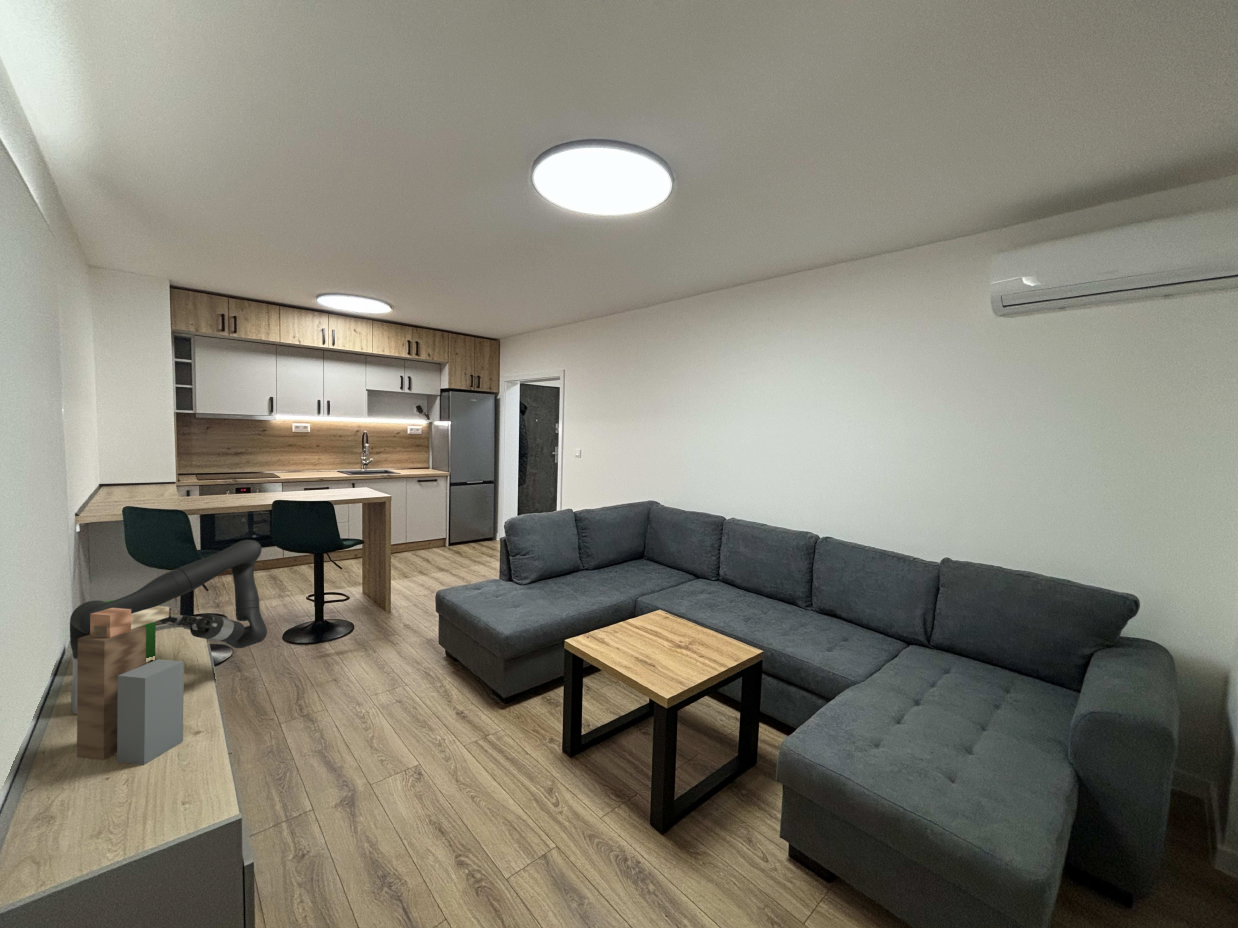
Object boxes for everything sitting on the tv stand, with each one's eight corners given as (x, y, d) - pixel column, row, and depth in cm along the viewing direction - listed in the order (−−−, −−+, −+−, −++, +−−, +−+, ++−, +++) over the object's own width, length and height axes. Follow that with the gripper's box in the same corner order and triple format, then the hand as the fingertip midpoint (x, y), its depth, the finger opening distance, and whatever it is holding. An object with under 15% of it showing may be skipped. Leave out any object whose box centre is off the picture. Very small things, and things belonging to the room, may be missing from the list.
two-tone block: (154, 615, 143) (154, 595, 143) (171, 616, 143) (172, 597, 142) (90, 635, 127) (90, 613, 127) (110, 637, 127) (110, 615, 126)
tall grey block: (157, 738, 135) (158, 659, 134) (182, 741, 134) (183, 661, 134) (117, 761, 125) (117, 675, 124) (144, 764, 124) (145, 678, 124)
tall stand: (119, 734, 136) (120, 624, 135) (144, 737, 135) (146, 626, 135) (76, 757, 126) (77, 638, 125) (103, 760, 125) (104, 640, 125)
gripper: (199, 614, 162) (155, 603, 147) (237, 617, 160) (197, 606, 146) (187, 637, 158) (142, 628, 144) (227, 640, 157) (184, 632, 142)
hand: (170, 617), depth 145 cm, fingers open, 8 cm apart
